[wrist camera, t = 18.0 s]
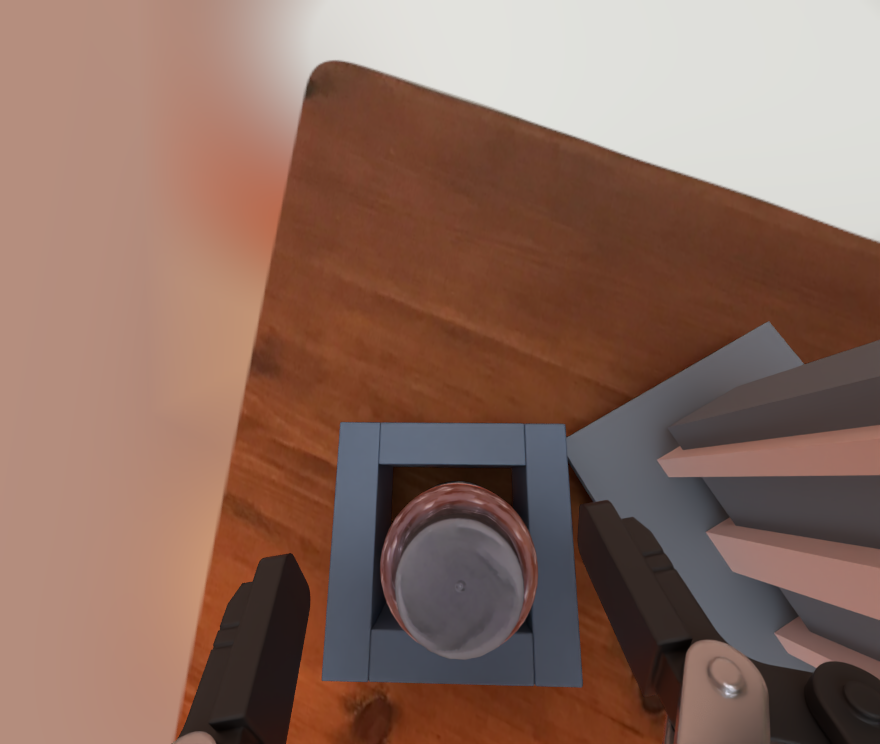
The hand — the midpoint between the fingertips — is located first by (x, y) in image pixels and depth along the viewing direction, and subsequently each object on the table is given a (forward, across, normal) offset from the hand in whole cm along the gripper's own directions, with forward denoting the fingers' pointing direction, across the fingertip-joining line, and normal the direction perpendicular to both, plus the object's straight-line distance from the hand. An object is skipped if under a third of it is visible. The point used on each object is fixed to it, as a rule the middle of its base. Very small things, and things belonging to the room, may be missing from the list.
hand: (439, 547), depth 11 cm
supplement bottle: (+8, 0, +10) cm, 13 cm away
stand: (+8, 0, +10) cm, 13 cm away
